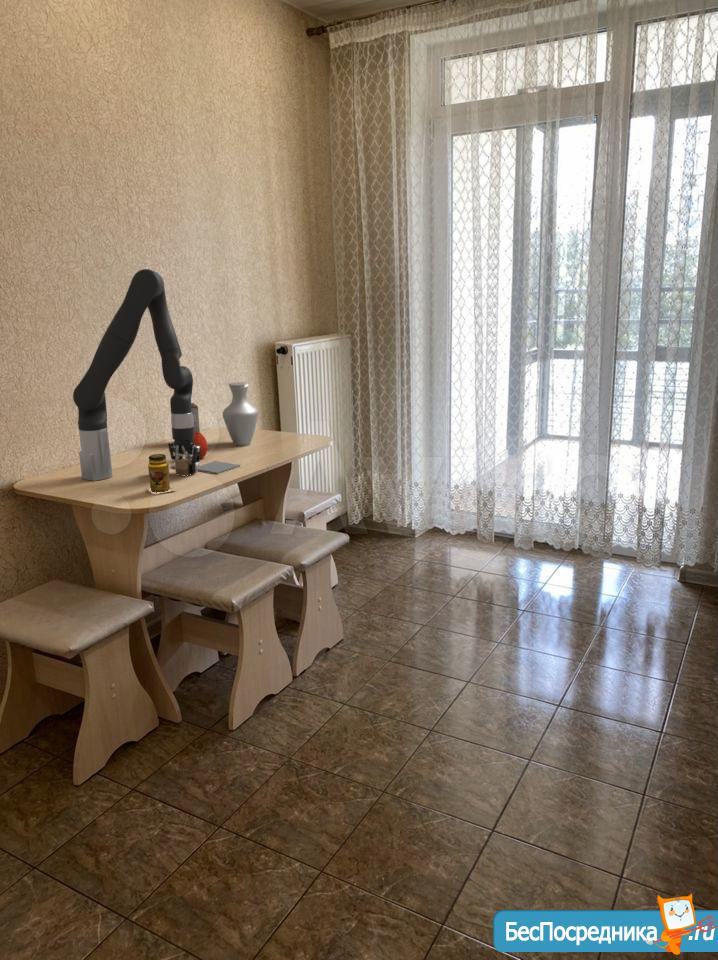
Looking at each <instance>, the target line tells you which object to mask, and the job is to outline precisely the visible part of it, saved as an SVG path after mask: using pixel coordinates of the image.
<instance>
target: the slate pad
mask: <svg viewBox="0 0 718 960" xmlns="http://www.w3.org/2000/svg"><path fill="white" fill-rule="evenodd" d="M237 467H238V468H241V465H240V464H237V463H230V462H225V461H224V462H223V461H218V460H214V461H212V462H208V463H205V464H201V465H199V466H198V467H196V470H198V471H197V472H201V471H204V472H203V473H207V472H210V473H209V474H213V473H216V474H215V475H220V474H223V473H225V471H226V472H229V471H231V469H232V470H235V469H237ZM234 468H235V469H234ZM228 470H229V471H228ZM222 472H223V473H222ZM219 473H220V474H219Z"/></svg>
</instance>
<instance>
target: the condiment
mask: <svg viewBox="0 0 718 960" xmlns="http://www.w3.org/2000/svg"><path fill="white" fill-rule="evenodd" d="M166 460H167V456H166V454H164V453H154V454H150V455H149V456H148V463H150V464H149V465H147V466H148V477H149V479H148V480H149V486H150V488H151V491H152V492H156V493H157V492H165V491H168V490H169V489H170V488H171V486H170V472H169V473H168V464H169V463H168V464H167V462H166ZM150 488H149V489H150Z"/></svg>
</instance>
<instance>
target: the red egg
mask: <svg viewBox="0 0 718 960" xmlns="http://www.w3.org/2000/svg"><path fill="white" fill-rule="evenodd" d="M194 434H195V437H194V439H193V442H194V444H195V445H196V446H201V454H200V460H201V459H203V458H205V457H206V456H207V454H208V451H209V448H208V447H209V444H208V441H207V439H206V438H205V436H204V434H202V432H201V431H200V432H195V433H194ZM188 455H191V453H190V454H188ZM196 458H197V457H196ZM191 459H192V458H191Z"/></svg>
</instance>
